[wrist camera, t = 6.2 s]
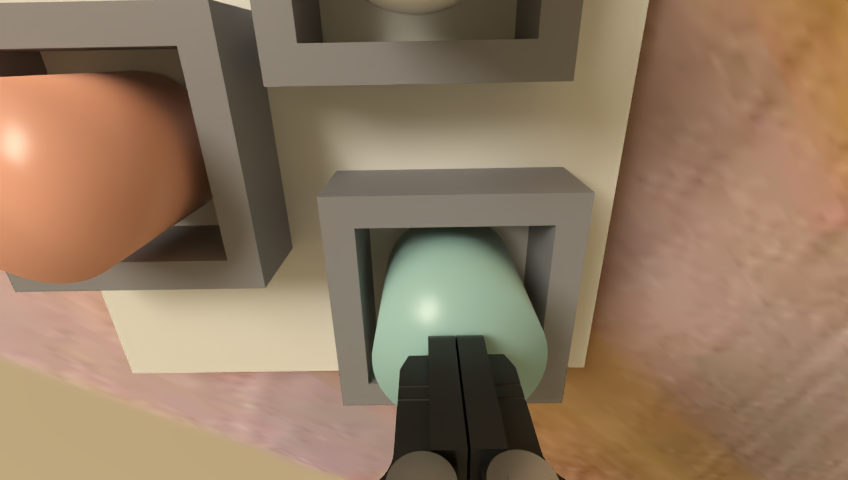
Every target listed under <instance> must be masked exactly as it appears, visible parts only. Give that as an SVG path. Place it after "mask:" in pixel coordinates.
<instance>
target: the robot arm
mask: <svg viewBox="0 0 848 480" xmlns="http://www.w3.org/2000/svg"><path fill="white" fill-rule="evenodd" d="M380 480H565V479H564V478H562V477H561V476H559V475H558V474H557V473H556V472H555V471H554V469H553V468H552V467H551V466H550V465H549V463H548V462H546V460H545V459H544V457H543V455H542V452H541V449H540V446H539V443H538V439H537V436H536V433H535V429H534V426H533V423H532V419H531V416H530V413H529V409H528V406H527V403H526V400H525V396H524V393H523V390H522V386H521V383H520V380H519V376H518V373H517V370H516V367H515V366H514V365H513V364H512V363H511V361H510V360H509V359H508V358H507V357H506V356H505V355H504V354H488V353H487V349H486V344H485V340H484V336H483V335H456V344H455V336H428V355H419V356H408V358H407V359H406V361H405V362H404V364H403V365H402V367H401V368H400V374H399V388H398V402H397V416H396V430H395V444H394V455H393V460H392V463H391V465H390V467H389V469H388V471H387V472H386V473H385V475H384V476H383V477H382V478H381V479H380Z"/></svg>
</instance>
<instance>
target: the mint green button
mask: <svg viewBox="0 0 848 480" xmlns="http://www.w3.org/2000/svg"><path fill="white" fill-rule="evenodd" d="M456 335H483V336H484V340H485V344H486V349H487V353H488V354H504V355H505V356H506V357H507V358H508V359H509V360H510V361H511V363H512V364H513V365H514V366H515V367H516V370H517V373H518V376H519V380H520V383H521V386H522V390H523V393H524V396H525V400H526V399H527V398H528V397H529V396H530V395H531V394H532V393H533V391H534V390H535V389H536V387H537V386H538V384H539V383H540V381H541V379H542V377H543V374H544V372H545V369H546V364H547V357H548V349H547V341H546V338H545V334H544V331H543V329H542V327H541V325H540V322H539V320H538V318H537V315H536V313H535V311H534V308H533V306H532V304H531V301H530V299H529V297H528V295H527V292H526V290H525V288H524V285H523V283H522V281H521V278H520V276H519V274H518V272H517V269H516V267H515V265H514V262H513V260H512V258H511V255H510V253H509V251H508V249H507V247H506V245H505V243H504V242H503V240H502V239H501V237H500V236H499V235H498V234H497V233H496V232H495V231H494V230H493V229H491V228H490V227H489V226H484V227H421V228H410V229H409V230H407V231H406V232H405V233H404V234H403V235H402V236H401V237H400V238H399V239H398V241H397V242H396V244H395V245H394V247H393V249H392V251H391V253H390V256H389V259H388V264H387V270H386V276H385V281H384V287H383V293H382V298H381V304H380V310H379V316H378V321H377V327H376V333H375V338H374V344H373V350H372V365H373V371H374V374H375V377H376V380H377V382H378V384H379V386H380V388H381V389H382V391H383V392H384V393H385V395H386V396H387V397H388V398H389V399H390V400H391V401H392V402H393V403H394V404H395V405H396V406H397V402H398V388H399V374H400V368H401V367H402V365H403V364H404V362H405V361H406V359H407V358H408V356H419V355H428V336H455V344H456Z"/></svg>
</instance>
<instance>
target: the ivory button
mask: <svg viewBox="0 0 848 480" xmlns="http://www.w3.org/2000/svg"><path fill="white" fill-rule="evenodd" d="M367 1H369V2H371V3H372V4H374V5H376V6H378V7H380V8H383V9H385V10H388V11H391V12H395V13H400V14H405V15H424V14H432V13H436V12H440V11H443V10H445V9H448V8H450V7H453V6H455V5H457V4H458V3H460V2H462V1H463V0H367Z"/></svg>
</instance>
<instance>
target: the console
mask: <svg viewBox="0 0 848 480" xmlns="http://www.w3.org/2000/svg"><path fill="white" fill-rule="evenodd" d="M648 4H649V0H463V1H462V2H460V3H458V4H457V5H455V6H453V7H450V8H448V9H445V10H443V11H440V12H436V13H432V14H424V15H405V14H400V13H395V12H391V11H388V10H385V9H383V8H380V7H378V6H376V5H374V4H372V3H371V2H369V1H367V0H0V77H12V76H32V75H52V74H72V73H93V72H113V71H145V72H150V73H155V74H158V75H161V76H164V77H166V78H168V79H170V80H173V81H174V82H176V83H178V84H179V85H181V86H183V87H184V88H185V89H187V91H188V95H189V99H190V104H191V108H192V112H193V116H194V121H195V125H196V129H197V133H198V138H199V142H200V146H201V150H202V155H203V159H204V163H205V167H206V172H207V176H208V180H209V184H210V189H211V193H212V197H213V198H212V199H211V200H210V201H209V202H207V203H206V204H205V205H203V206H202V207H200V208H199V209H197V210H196V211H194V212H193V213H191V214H190V215H189V216H187V217H186V218H184V219H183V220H181V221H180V222H178V223H177V224H175V225H174V226H172V227H171V228H169V229H168V230H166V231H165V232H163V233H162V234H160V235H159V236H157V237H156V238H155V239H153V240H152V241H150V242H149V243H147V244H146V245H144V246H143V247H141V248H140V249H138V250H137V251H135V252H134V253H132V254H131V255H129V256H128V257H126V258H125V259H123V260H122V261H121V262H119V263H118V264H116V265H115V266H113V267H112V268H110V269H109V270H107V271H106V272H104V273H102V274H100V275H98V276H97V277H94V278H91V279H88V280H86V281H81V282H76V283H65V284H56V283H44V282H38V281H33V280H29V279H25V278H21V277H19V276H16V275H13V274H10V273H8V272H6V273H7V276H8V278H9V280H10V282H11V284H12V286H13V288H14V290H15V292H49V291H101V292H102V295H103V298H104V300H105V303H106V305H107V308H108V310H109V313H110V316H111V318H112V321H113V323H114V326H115V329H116V331H117V334H118V336H119V339H120V342H121V344H122V347H123V349H124V352H125V354H126V357H127V360H128V362H129V365H130V367H131V370H132V373H194V372H268V371H339V376H340V384H341V391H342V399H343V406H352V405H395V404H394V403H393V402H392V401H391V400H390V399H389V398H388V397H387V396H386V395H385V393H384V392H383V391H382V389H381V388H380V386H379V384H378V382H377V380H376V377H375V374H374V371H373V365H372V350H373V344H374V338H375V333H376V327H377V321H378V316H379V310H380V304H381V298H382V293H383V287H384V281H385V276H386V270H387V264H388V259H389V256H390V253H391V251H392V249H393V247H394V245H395V244H396V242H397V241H398V239H399V238H400V237H401V236H402V235H403V234H404V233H405V232H406V231H407V230H409V229H410V228H421V227H484V226H489V227H490V228H491V229H493V230H494V231H495V232H496V233H497V234H498V235H499V236H500V237H501V239H502V240H503V242H504V243H505V245H506V247H507V249H508V251H509V253H510V255H511V258H512V260H513V262H514V265H515V267H516V269H517V272H518V274H519V276H520V278H521V281H522V283H523V285H524V288H525V290H526V292H527V295H528V297H529V299H530V301H531V304H532V306H533V308H534V311H535V313H536V315H537V318H538V320H539V322H540V325H541V327H542V329H543V331H544V334H545V338H546V341H547V349H548V357H547V364H546V369H545V372H544V374H543V377H542V379H541V381H540V383H539V384H538V386H537V387H536V389H535V390H534V391H533V393H532V394H531V395H530V396H529V397H528V398H527V399H526V403H562V400H563V393H564V387H565V381H566V374H567V368H568V367H584V365H585V359H586V353H587V348H588V342H589V337H590V331H591V325H592V320H593V314H594V308H595V303H596V297H597V291H598V286H599V280H600V274H601V269H602V263H603V258H604V252H605V246H606V241H607V235H608V229H609V224H610V218H611V212H612V207H613V201H614V195H615V190H616V184H617V179H618V173H619V167H620V162H621V156H622V150H623V145H624V139H625V133H626V128H627V122H628V116H629V111H630V105H631V100H632V94H633V88H634V83H635V77H636V71H637V66H638V60H639V54H640V49H641V43H642V37H643V32H644V26H645V21H646V15H647V9H648Z"/></svg>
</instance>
